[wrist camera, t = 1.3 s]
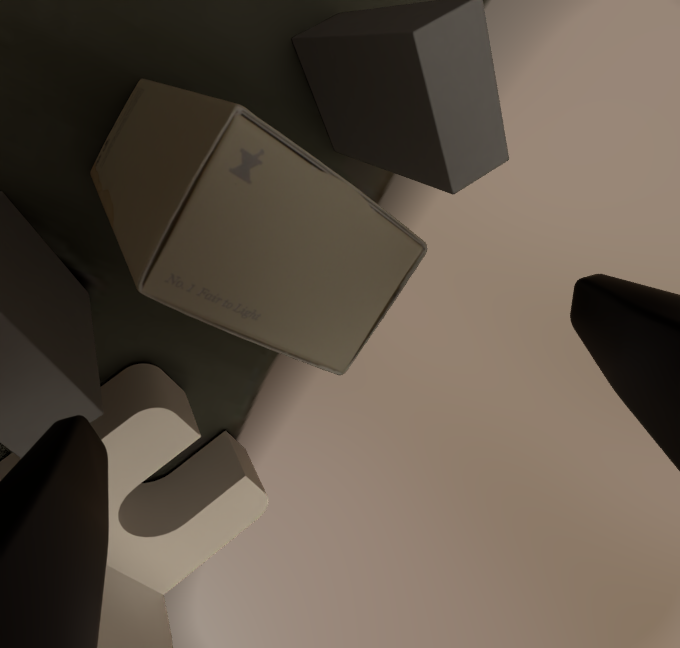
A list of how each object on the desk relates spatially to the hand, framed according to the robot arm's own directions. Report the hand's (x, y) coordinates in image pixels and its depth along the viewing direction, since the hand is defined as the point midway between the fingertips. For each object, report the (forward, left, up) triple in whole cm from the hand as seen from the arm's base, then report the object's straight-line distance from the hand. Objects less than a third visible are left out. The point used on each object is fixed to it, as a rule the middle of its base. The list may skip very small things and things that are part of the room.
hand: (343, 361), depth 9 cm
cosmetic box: (+1, 0, -16) cm, 16 cm away
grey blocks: (+1, 0, -15) cm, 15 cm away
